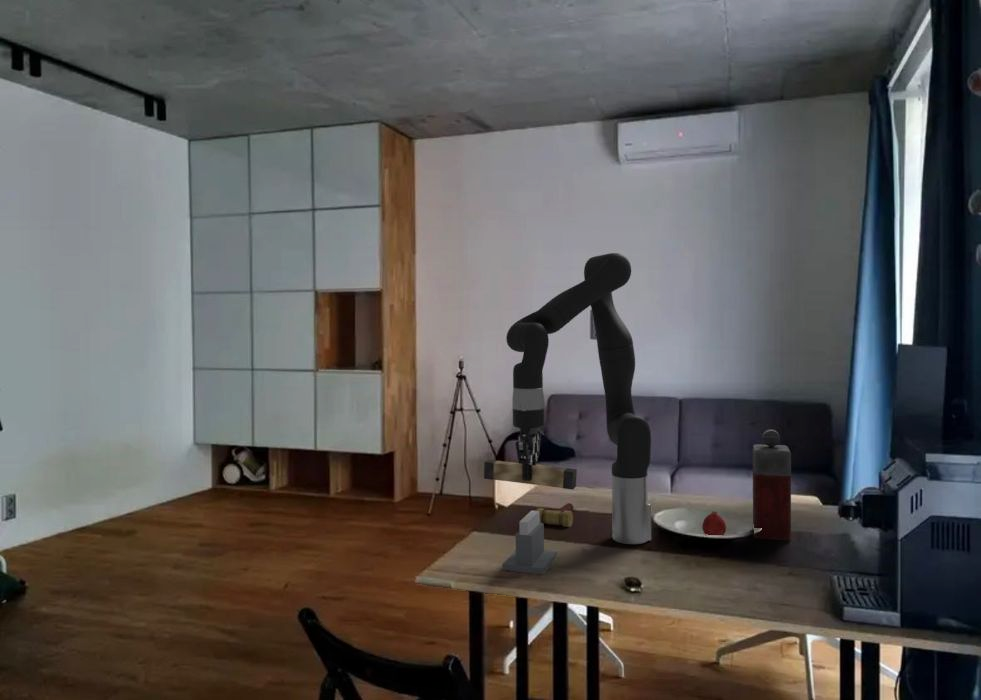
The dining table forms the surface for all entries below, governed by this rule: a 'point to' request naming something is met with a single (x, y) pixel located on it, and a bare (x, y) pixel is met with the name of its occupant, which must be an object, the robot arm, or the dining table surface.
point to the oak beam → (539, 474)
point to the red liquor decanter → (772, 488)
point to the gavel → (557, 516)
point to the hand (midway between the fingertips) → (529, 478)
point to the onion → (714, 524)
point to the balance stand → (530, 548)
